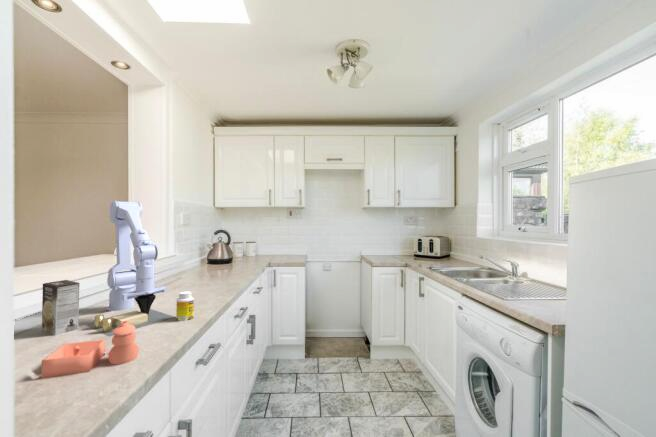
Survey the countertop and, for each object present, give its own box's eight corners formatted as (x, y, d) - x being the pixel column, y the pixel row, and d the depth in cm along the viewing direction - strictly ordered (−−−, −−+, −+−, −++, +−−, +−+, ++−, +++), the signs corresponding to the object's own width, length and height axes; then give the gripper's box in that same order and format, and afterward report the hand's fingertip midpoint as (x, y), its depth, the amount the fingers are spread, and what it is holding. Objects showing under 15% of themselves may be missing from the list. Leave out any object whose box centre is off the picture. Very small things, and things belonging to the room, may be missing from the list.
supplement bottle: (190, 322, 102) (190, 294, 103) (173, 323, 102) (174, 294, 102) (195, 317, 108) (195, 290, 108) (179, 318, 107) (180, 290, 107)
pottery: (41, 378, 66) (42, 336, 66) (63, 360, 75) (64, 322, 75) (132, 366, 72) (132, 327, 72) (143, 350, 81) (143, 315, 81)
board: (85, 327, 98) (85, 324, 98) (150, 310, 116) (150, 309, 116) (109, 338, 88) (109, 336, 88) (176, 319, 106) (176, 317, 106)
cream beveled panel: (110, 324, 99) (110, 316, 99) (136, 317, 105) (136, 310, 106) (121, 328, 94) (121, 321, 94) (147, 321, 101) (147, 314, 101)
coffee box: (40, 333, 92) (41, 283, 93) (65, 326, 98) (66, 279, 98) (55, 338, 89) (55, 286, 89) (80, 331, 94) (80, 282, 94)
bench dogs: (93, 328, 95) (93, 316, 95) (101, 325, 97) (101, 314, 97) (104, 333, 90) (104, 320, 90) (113, 331, 92) (113, 318, 92)
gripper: (128, 283, 96) (127, 323, 96) (171, 276, 109) (170, 312, 108) (118, 280, 100) (118, 319, 100) (161, 274, 112) (160, 309, 112)
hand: (144, 315), depth 104 cm, fingers closed
